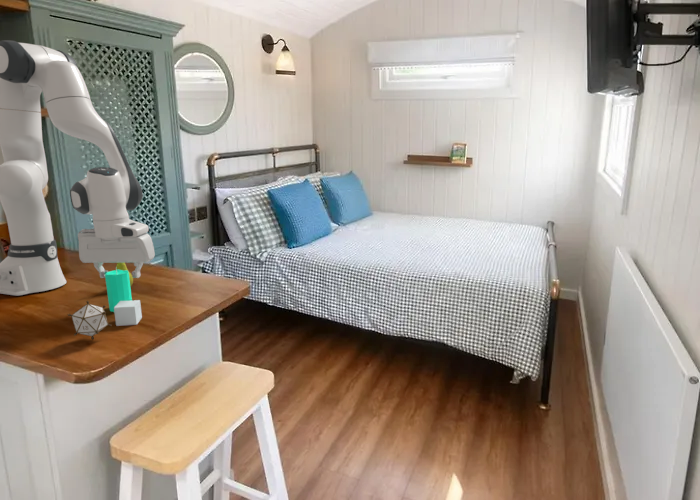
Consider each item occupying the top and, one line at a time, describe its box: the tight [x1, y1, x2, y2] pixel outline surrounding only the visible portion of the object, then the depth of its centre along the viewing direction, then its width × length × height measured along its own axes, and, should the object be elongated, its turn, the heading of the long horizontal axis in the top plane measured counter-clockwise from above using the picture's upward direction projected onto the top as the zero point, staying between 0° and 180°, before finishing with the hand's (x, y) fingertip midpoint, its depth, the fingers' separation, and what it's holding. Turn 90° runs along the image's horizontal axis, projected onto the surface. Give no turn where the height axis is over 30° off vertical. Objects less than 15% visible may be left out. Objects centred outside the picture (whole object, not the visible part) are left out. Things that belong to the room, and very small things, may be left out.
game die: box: [67, 300, 113, 340], centre depth 116 cm, size 9×8×10 cm
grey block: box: [113, 299, 143, 327], centre depth 128 cm, size 5×5×5 cm
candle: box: [104, 267, 133, 313], centre depth 136 cm, size 6×6×12 cm
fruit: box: [115, 263, 134, 287], centre depth 152 cm, size 6×6×12 cm
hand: (120, 277), depth 136 cm, fingers open, 8 cm apart
